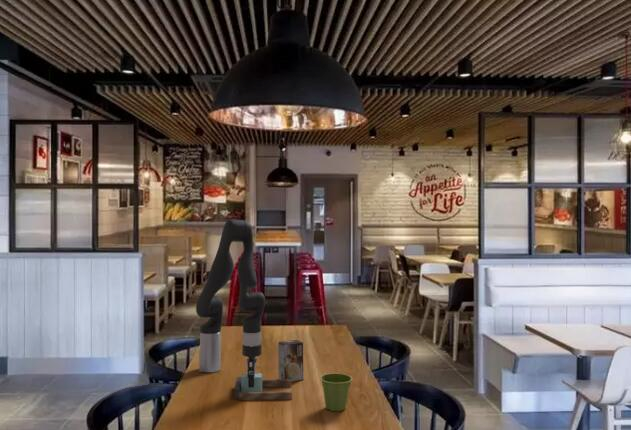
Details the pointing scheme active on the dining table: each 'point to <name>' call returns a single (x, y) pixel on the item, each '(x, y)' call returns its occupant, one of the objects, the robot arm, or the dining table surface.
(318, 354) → the dining table surface
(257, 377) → the block
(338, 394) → the plant pot
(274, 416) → the dining table surface
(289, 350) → the coffee box
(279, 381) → the channel
